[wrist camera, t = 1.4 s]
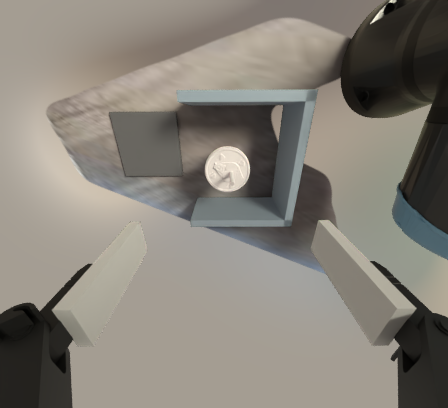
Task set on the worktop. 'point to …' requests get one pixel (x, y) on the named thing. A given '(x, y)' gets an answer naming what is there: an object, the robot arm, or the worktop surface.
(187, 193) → the worktop surface
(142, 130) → the mat
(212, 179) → the smoothie
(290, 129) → the open frame
